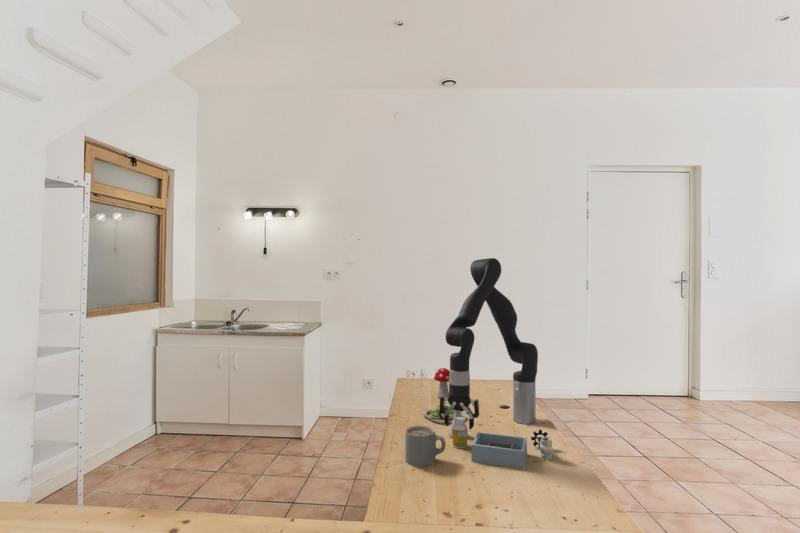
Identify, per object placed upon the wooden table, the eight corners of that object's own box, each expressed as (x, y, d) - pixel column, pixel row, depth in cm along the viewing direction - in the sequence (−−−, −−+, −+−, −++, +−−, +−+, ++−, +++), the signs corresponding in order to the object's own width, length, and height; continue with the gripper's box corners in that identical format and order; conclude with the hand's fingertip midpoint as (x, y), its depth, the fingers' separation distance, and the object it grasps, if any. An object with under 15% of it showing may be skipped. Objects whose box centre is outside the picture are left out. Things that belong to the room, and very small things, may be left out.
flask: (466, 439, 168) (466, 413, 169) (447, 438, 170) (447, 411, 170) (467, 433, 175) (467, 407, 176) (449, 431, 177) (449, 406, 177)
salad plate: (477, 423, 188) (477, 412, 188) (439, 429, 181) (439, 417, 181) (454, 410, 206) (454, 400, 206) (419, 415, 199) (419, 404, 199)
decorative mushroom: (430, 398, 224) (430, 368, 224) (439, 394, 231) (439, 365, 232) (448, 401, 218) (448, 371, 219) (456, 397, 226) (456, 368, 226)
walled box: (478, 447, 161) (478, 431, 161) (526, 453, 155) (526, 437, 155) (471, 461, 149) (471, 444, 149) (524, 468, 143) (524, 451, 143)
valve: (557, 461, 149) (549, 448, 161) (557, 442, 149) (549, 429, 161) (537, 461, 149) (530, 447, 161) (537, 441, 150) (530, 428, 162)
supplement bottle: (450, 443, 165) (450, 416, 165) (465, 442, 165) (465, 416, 165) (453, 448, 159) (453, 421, 160) (468, 448, 160) (468, 421, 160)
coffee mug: (403, 466, 145) (403, 435, 145) (407, 454, 155) (407, 425, 155) (445, 468, 143) (445, 437, 143) (445, 456, 153) (445, 426, 153)
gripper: (480, 381, 164) (480, 426, 163) (443, 378, 169) (442, 421, 168) (477, 386, 157) (476, 433, 156) (437, 382, 162) (437, 427, 161)
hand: (458, 427), depth 162 cm, fingers open, 8 cm apart
